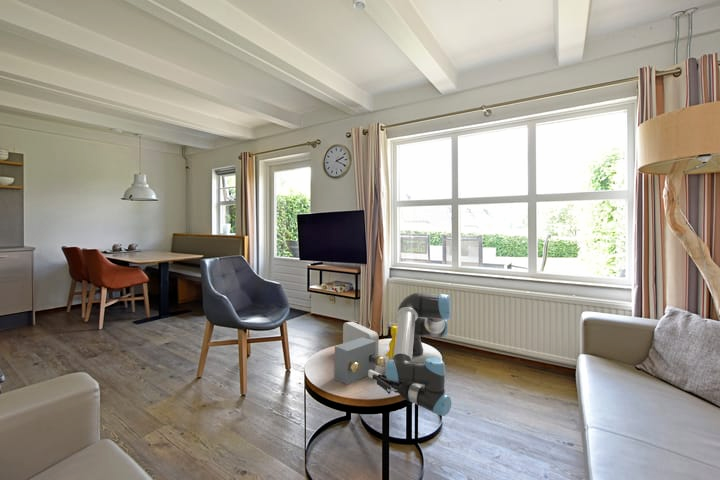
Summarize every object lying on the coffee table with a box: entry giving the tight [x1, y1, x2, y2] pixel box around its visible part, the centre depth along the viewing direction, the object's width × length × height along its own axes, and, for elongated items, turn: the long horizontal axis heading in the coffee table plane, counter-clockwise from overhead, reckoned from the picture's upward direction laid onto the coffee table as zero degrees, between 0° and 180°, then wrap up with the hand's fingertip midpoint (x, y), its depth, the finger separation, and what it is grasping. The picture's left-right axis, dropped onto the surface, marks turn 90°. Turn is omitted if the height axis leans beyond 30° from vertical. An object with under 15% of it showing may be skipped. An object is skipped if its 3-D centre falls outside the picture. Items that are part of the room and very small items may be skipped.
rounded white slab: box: [342, 321, 379, 366], centre depth 184 cm, size 29×8×18 cm, turn 33°
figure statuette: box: [385, 325, 398, 361], centre depth 174 cm, size 18×8×22 cm, turn 46°
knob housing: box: [333, 337, 376, 386], centre depth 162 cm, size 20×9×16 cm, turn 136°
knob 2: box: [369, 355, 386, 368], centre depth 162 cm, size 4×9×4 cm, turn 46°
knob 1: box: [349, 362, 360, 373], centre depth 155 cm, size 4×9×4 cm, turn 46°
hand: (369, 373), depth 146 cm, fingers closed
